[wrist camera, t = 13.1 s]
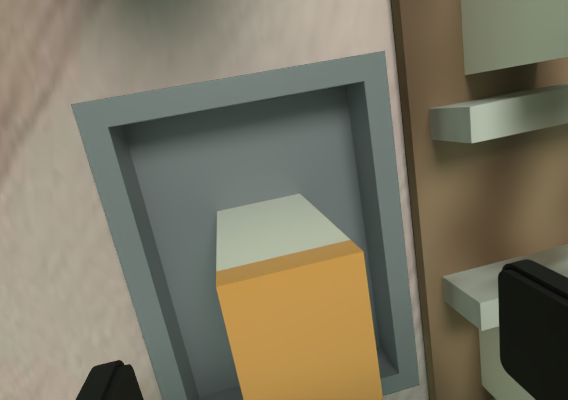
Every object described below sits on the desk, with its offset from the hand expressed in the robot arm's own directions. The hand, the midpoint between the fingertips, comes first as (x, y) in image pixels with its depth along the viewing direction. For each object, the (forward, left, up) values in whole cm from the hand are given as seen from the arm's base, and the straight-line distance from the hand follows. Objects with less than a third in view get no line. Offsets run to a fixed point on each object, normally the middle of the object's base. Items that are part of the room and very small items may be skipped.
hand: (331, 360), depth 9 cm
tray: (0, 0, -10) cm, 10 cm away
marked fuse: (0, 0, -9) cm, 9 cm away
